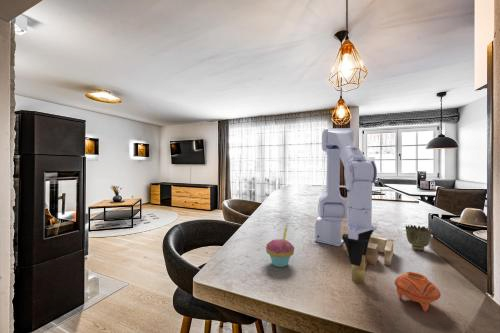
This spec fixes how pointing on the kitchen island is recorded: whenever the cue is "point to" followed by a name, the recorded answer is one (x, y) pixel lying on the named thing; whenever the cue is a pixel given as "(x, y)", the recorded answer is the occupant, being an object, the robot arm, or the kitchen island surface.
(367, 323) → the kitchen island surface
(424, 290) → the orange ridged rounded piece
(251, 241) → the kitchen island surface
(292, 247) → the cupcake
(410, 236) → the cup
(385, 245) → the beige blocky multi-part fixture
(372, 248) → the tab block
